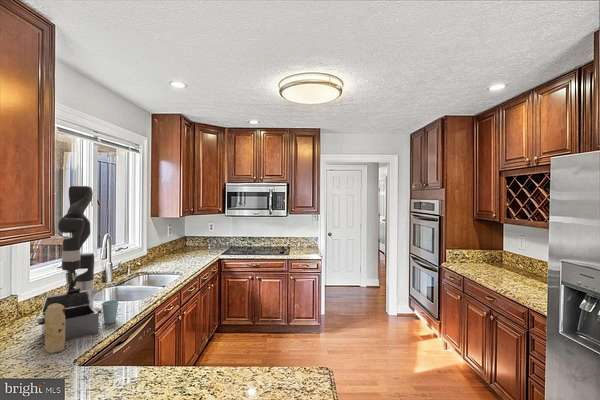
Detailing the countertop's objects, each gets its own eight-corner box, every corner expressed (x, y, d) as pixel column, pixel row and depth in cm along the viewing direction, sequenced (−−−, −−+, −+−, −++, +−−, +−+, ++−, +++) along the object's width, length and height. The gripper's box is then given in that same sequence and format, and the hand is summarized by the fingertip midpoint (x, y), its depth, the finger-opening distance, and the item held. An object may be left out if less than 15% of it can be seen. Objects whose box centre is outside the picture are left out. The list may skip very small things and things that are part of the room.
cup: (118, 318, 193) (118, 299, 193) (118, 322, 187) (118, 303, 186) (102, 320, 189) (102, 301, 189) (102, 325, 183) (102, 305, 183)
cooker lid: (41, 312, 171) (41, 308, 172) (89, 304, 185) (89, 300, 186) (47, 295, 158) (47, 290, 159) (98, 287, 172) (97, 282, 173)
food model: (69, 349, 153) (70, 303, 153) (53, 355, 147) (54, 308, 147) (55, 345, 157) (56, 301, 157) (39, 351, 151) (39, 305, 151)
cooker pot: (35, 334, 169) (35, 314, 169) (95, 322, 187) (95, 303, 186) (40, 346, 156) (41, 324, 156) (104, 331, 173) (104, 311, 173)
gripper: (59, 258, 173) (59, 293, 173) (64, 262, 163) (64, 299, 163) (77, 256, 178) (76, 291, 178) (83, 260, 168) (83, 296, 168)
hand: (71, 295), depth 170 cm, fingers closed
